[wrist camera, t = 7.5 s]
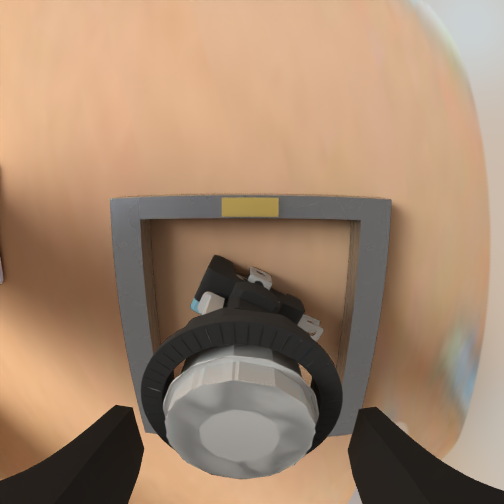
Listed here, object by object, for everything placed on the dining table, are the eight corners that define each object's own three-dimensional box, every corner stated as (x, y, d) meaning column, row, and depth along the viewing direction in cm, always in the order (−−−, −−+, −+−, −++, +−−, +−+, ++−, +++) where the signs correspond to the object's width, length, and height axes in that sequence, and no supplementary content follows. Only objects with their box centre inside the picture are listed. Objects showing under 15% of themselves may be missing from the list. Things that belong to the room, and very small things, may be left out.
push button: (339, 281, 16) (431, 400, 6) (290, 362, 17) (318, 513, 8) (221, 224, 16) (169, 298, 6) (179, 315, 17) (111, 453, 7)
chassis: (151, 417, 18) (144, 435, 17) (122, 196, 15) (107, 199, 13) (349, 418, 18) (356, 436, 17) (379, 197, 15) (394, 200, 13)
